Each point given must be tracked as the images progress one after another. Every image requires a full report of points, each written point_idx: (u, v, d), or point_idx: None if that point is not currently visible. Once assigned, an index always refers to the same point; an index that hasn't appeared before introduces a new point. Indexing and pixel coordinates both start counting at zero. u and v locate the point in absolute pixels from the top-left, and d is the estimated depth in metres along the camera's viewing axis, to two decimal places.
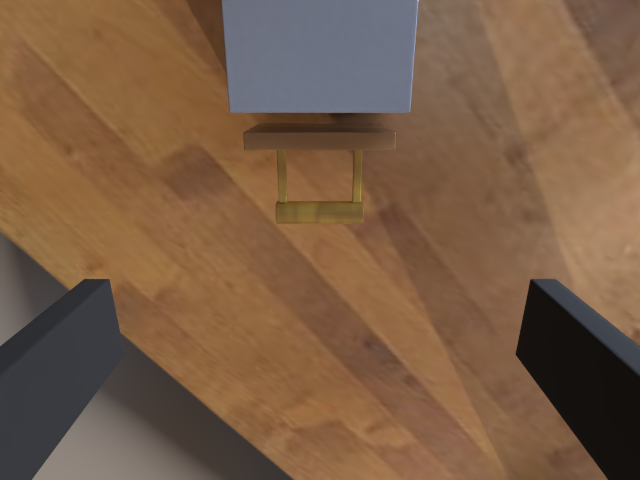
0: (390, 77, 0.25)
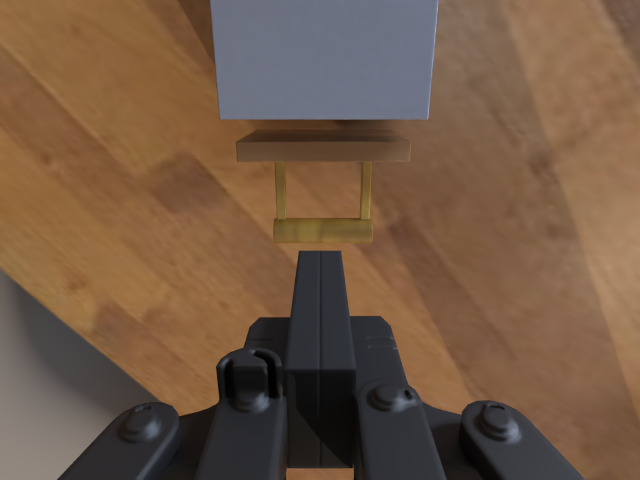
0: (405, 78, 0.22)
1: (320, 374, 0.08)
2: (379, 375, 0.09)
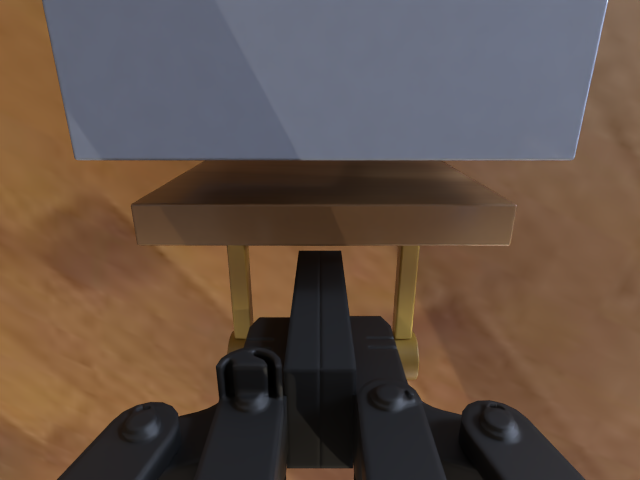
0: (531, 61, 0.09)
1: (320, 374, 0.08)
2: (379, 375, 0.09)
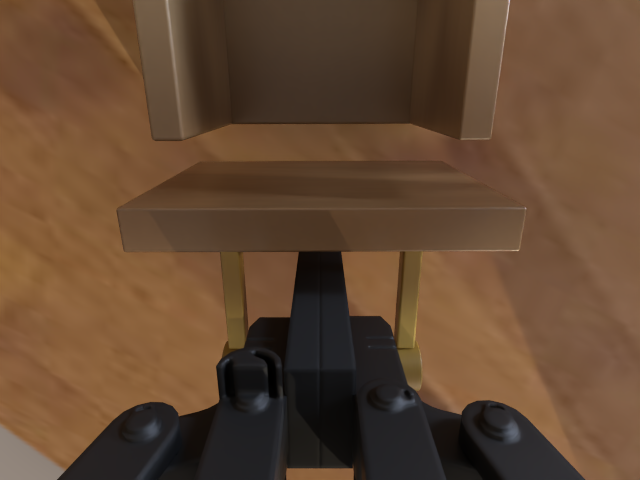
0: None
1: (320, 374, 0.08)
2: (379, 375, 0.09)
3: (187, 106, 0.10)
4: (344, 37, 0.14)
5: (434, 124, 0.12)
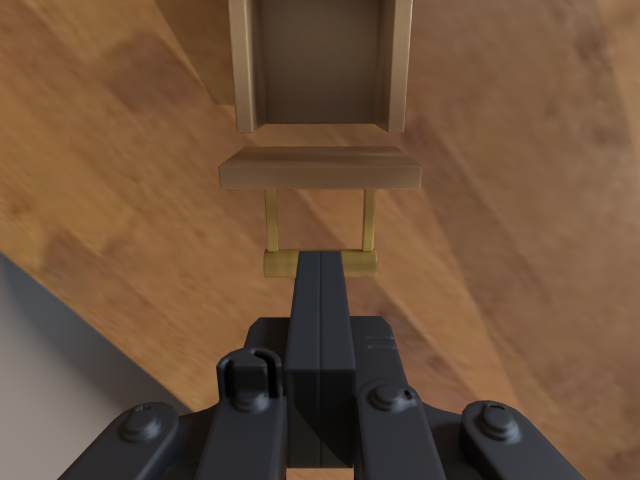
0: None
1: (320, 374, 0.08)
2: (379, 375, 0.09)
3: (253, 115, 0.20)
4: (334, 73, 0.25)
5: (381, 125, 0.22)
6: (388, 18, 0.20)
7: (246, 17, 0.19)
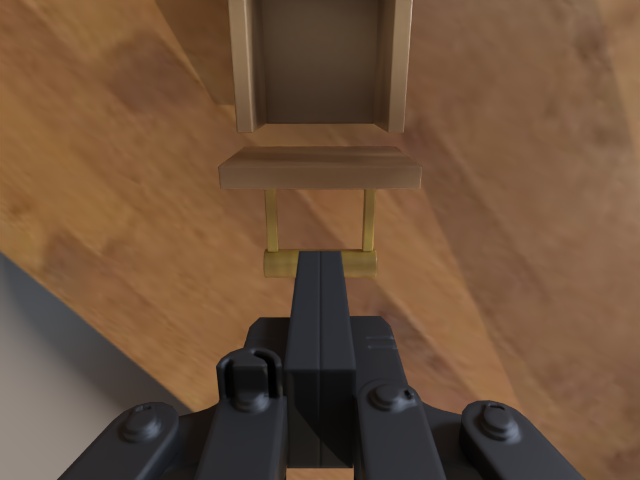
0: None
1: (320, 374, 0.08)
2: (379, 375, 0.09)
3: (253, 115, 0.20)
4: (334, 73, 0.25)
5: (381, 124, 0.22)
6: (388, 18, 0.20)
7: (246, 17, 0.19)
